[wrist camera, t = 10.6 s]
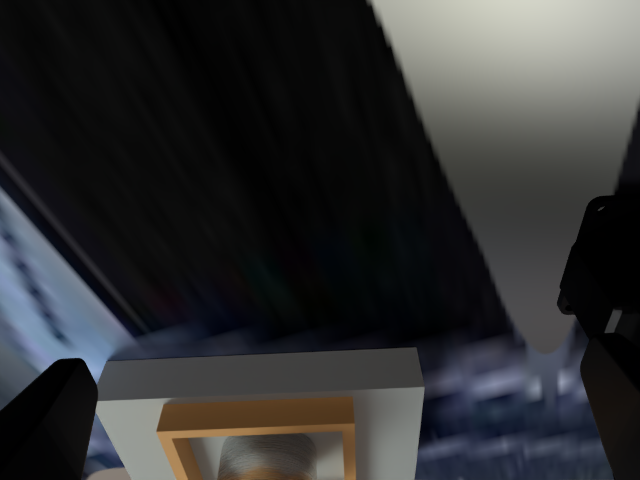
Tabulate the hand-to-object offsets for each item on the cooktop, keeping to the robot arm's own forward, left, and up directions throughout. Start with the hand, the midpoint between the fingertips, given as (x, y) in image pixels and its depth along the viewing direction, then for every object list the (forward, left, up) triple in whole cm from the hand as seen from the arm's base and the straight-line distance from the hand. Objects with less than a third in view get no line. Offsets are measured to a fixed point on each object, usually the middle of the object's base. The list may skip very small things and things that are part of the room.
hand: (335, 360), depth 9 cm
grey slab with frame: (+4, +19, -12) cm, 23 cm away
